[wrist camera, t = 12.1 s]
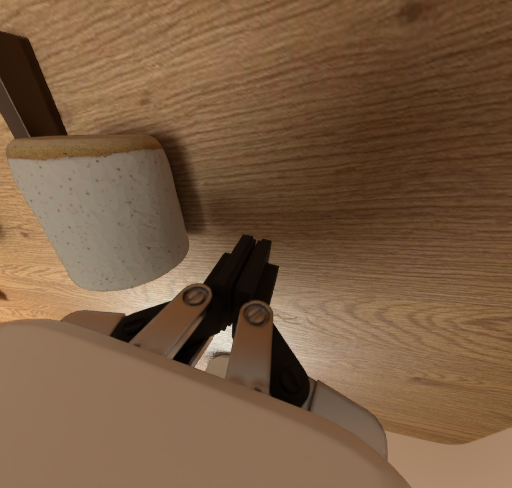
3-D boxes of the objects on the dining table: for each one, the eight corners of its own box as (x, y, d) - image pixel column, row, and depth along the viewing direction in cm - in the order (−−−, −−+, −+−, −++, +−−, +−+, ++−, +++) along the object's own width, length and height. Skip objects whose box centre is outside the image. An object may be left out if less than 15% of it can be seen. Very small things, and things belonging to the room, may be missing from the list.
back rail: (27, 38, 12) (-29, 23, 10) (124, 273, 23) (106, 287, 22) (-12, 35, 12) (-72, 20, 10) (101, 266, 24) (83, 280, 22)
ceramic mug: (185, 128, 12) (51, 141, 6) (207, 237, 17) (142, 308, 11) (65, 132, 15) (-113, 144, 9) (112, 225, 19) (16, 277, 13)
